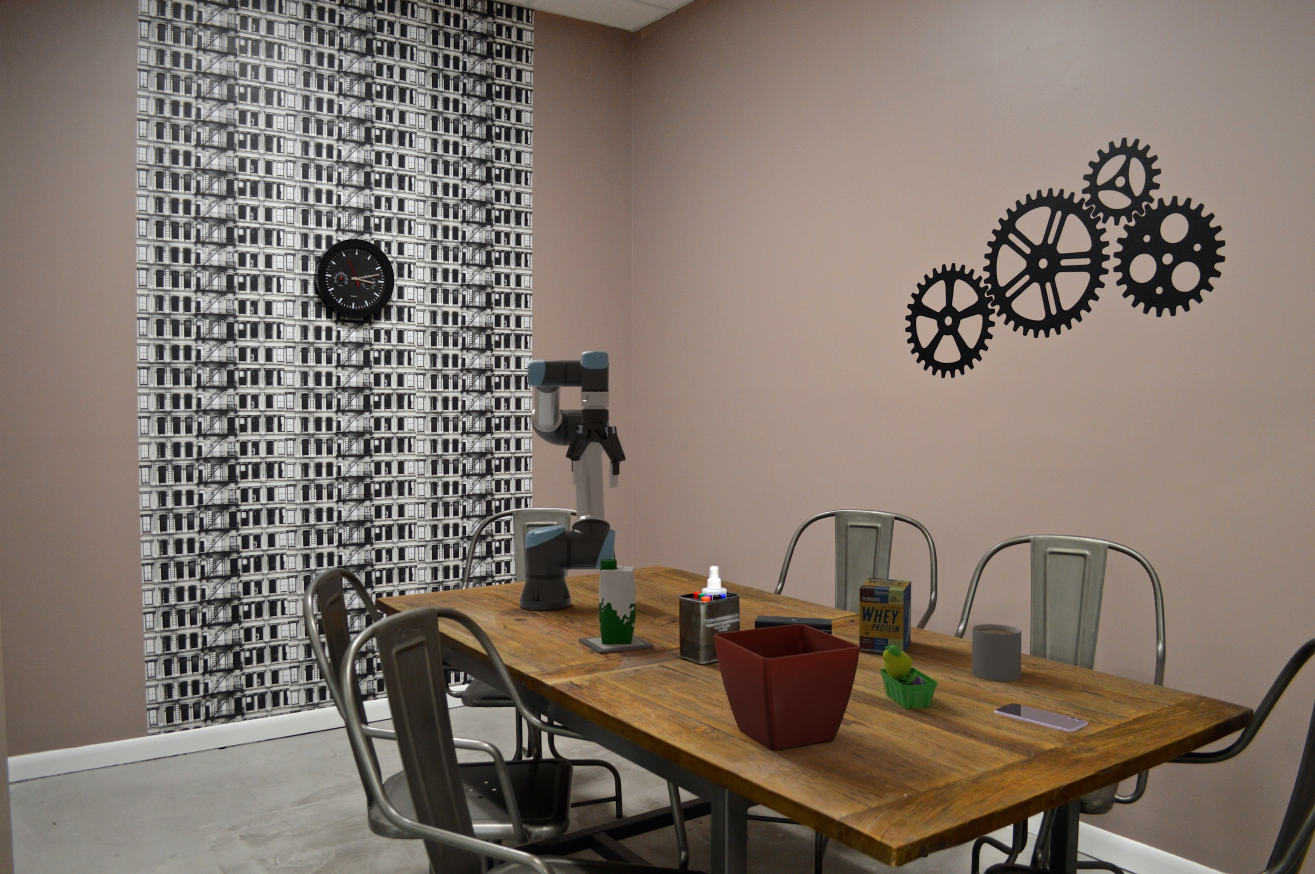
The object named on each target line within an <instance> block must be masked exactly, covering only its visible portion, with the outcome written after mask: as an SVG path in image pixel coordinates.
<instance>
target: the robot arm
mask: <svg viewBox="0 0 1315 874" xmlns="http://www.w3.org/2000/svg"><path fill="white" fill-rule="evenodd" d="M609 358H610V357H609V353H608V352H607V351H596V350H594V351H592V350H590V351H589V350H587V351H583V352H582V353H581V357H580V359H576V360H575V359H543V358H541V359H531V360H529V361H528V362H527V385H528V386H530V387H534V390H533V391H534V393H533V394H534V395H533V396H534V399H533V400H534V401H533V402H534V405H533V407H534V409H533V410H532V411H531V415H530V422H531V424H530V425H531V428H532V429H533V430H534V432H535V433H536V435H537V436H539V438H541V440H544V441H545V442H547V443H549V444H551V445H554V446H564V447H566V446H568V448H567V451H566V453H565V457H566V459H569V460H570V461H571V472H572V485H575V503H576V504H575V507H576V508H575V509H576V512H575V513H576V520H575V522H574V523H572V524H571V525H572V526H571V530H566V527H565V525H550V526H544V527H537V528H534V529H531V530H529V531H528V532H527V533H526V535H525V546H524V548H525V581H524V584H523V588H522V591H521V595H520V597H519V607H521V609H525V610H531V611H532V610H533V611H552V610H554V611H555V610H562V609H565V608H568V607H570V606H571V605H572V596H571V594H570V590H569V587H568V584H567V581H566V570H567V571H569V570H570V571H571V570H572V571H574V570H578V571H579V570H581V571H582V570H596V571H597V570H600V568H601V566H600V561H601V560H602V559H614V551H615V543H616V530H615V529H613V528H611V524H610V522H609V521H608V520H606V517H605V516H606V514H605V498H604V497H605V495H604V474H603V454H604V453H605V454H606V455H607V457H608V459H609V460H610V462H609V463H608V488H609V489H612V488H618V487H619V475H620V473H621V472H620V464H621V463H623V462H625V461H626V455H625V452H624V449H623V447H622V444H621V441H620V439H619V436H618V430H617V429H618V428H617V426H615V425H613V426H610V412H609V411H610V410H609V409H608V407H609V406H610V401H609V400H610V393H609V392H610V390H609V389H610V388H609V385H610V382H609V381H610V380H609V379H610V378H609V377H610V374H609V372H610V367H609V366H610V362H609V361H610V360H609ZM561 387H562V388H563V387H564V388H565V387H566V388H568V387H570V388H572V387H573V388H578V387H580V388H581V390H580V393H581V396H580V397H581V398H580V400H581V401H580V402H581V408H582V409H560V401H561Z"/></svg>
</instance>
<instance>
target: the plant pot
mask: <svg viewBox="0 0 1315 874" xmlns="http://www.w3.org/2000/svg"><path fill="white" fill-rule="evenodd" d="M713 641H714V647H715V654H716V658H717V663H718V667H719V668H718V669H719V671H720V672H719V673H720V676H721V680H722V683H723V687H724V691H725V693H726V696H727V701H728V704H729V706H730V710H731V712H732V715H733V718H734V721H735V723H736V726H737V728H738V729H739V730H740V731H741V732H744V734H746V735H747V736H749V737H751V738H752V739H754V741H755V740H756V741H757V742H758V743H760V744H762V745H763V746H765V747H766V748H768V749H769V750H771V751H772V750H773V751H778V750H779V751H780V750H787V749H791V748H796V747H797V748H798V747H801V746H807V745H812V744H813V745H814V744H818V743H824V742H829V741H834V740H835V738H836V736H837V733H838V732H839V730H840V726H841V724H842V722H843V719H844V716H845V713H846V712H847V707H848V705H849V703H850V702H849V701H850V698H851V695H852V690H853V686H854V684H855V683H854V682H855V678H856V673H857V669H858V662H859V658H860V653H861V652H860V646H859V644H858V643H857V644H856V643H854V642H851V641H848V640H846V639H843V638H841V637H837V636H835V635H833V634H830V633H828V632H826V631H823V630H820V629H817V628H814V627H812V626H809V625H807V624H802V623H797V624H796V623H794V624H785V625H778V626H768V627H761V628H754V629H753V628H751V629H743V630H734V631H727V632H726V631H724V632H716V633H714V634H713Z"/></svg>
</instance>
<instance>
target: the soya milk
mask: <svg viewBox="0 0 1315 874" xmlns="http://www.w3.org/2000/svg"><path fill="white" fill-rule="evenodd" d="M617 562H618V560H617V559H616V558H613V559H602V560H601V561H600V566H601V568H600V569H599V584H598V585H599V587H598V622H599V632H600V636H601V639H602V644H631V643H632V637H633V635H634V630H635V625H636V619H637V617H636V616H637V599H636V598H637V589H636V578H635V572H634V566H633V565H631V566H630V565H629V566H627V565H626V566H624V565H618V563H617Z"/></svg>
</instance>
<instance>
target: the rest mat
mask: <svg viewBox="0 0 1315 874" xmlns="http://www.w3.org/2000/svg"><path fill="white" fill-rule="evenodd" d="M578 642H579V643H581V644H583V645H584V646H586V647H587V648H589V649H591V650H592V651H594V652H596V653H597V652H598V653H597V654H599V655H602V654H601V653H605V654H611V652H613V653H619V651H621V652H627V651H628V650H630V651H635V649H638V650H644V649H643V648H646V649H653V647H654V644H652V643H650V642H648V641H647V640H644V639H642V638H640V637H639V636H636V635H634V634H633V637H632V643H631V644H602V639H601V635H600V636H592V637H583V638H578ZM628 652H629V651H628Z"/></svg>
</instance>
